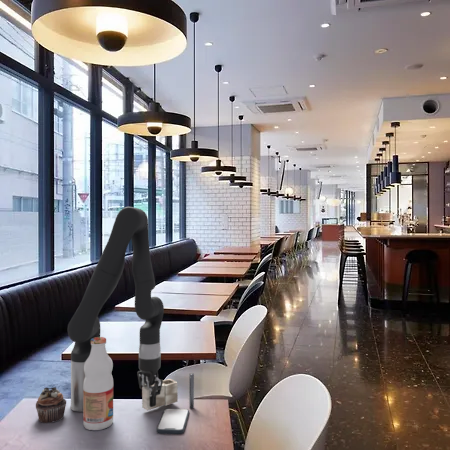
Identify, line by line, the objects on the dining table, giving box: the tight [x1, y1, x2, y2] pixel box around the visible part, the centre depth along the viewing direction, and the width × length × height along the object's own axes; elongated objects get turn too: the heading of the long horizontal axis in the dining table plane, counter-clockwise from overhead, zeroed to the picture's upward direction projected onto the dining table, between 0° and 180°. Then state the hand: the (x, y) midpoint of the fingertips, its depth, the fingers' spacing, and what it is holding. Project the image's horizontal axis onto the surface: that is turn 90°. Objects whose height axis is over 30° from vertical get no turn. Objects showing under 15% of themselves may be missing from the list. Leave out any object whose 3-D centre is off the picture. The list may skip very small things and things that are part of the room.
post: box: [188, 372, 195, 409], centre depth 150 cm, size 2×2×12 cm
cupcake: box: [35, 386, 67, 424], centre depth 142 cm, size 10×10×10 cm
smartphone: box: [156, 408, 190, 435], centre depth 139 cm, size 9×2×16 cm
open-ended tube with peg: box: [141, 378, 179, 411], centre depth 150 cm, size 12×5×7 cm, turn 131°
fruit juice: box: [82, 336, 114, 431], centre depth 138 cm, size 9×9×28 cm
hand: (149, 404), depth 147 cm, fingers closed on open-ended tube with peg, 3 cm apart
